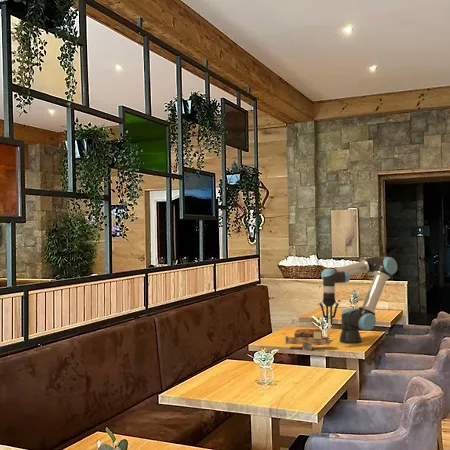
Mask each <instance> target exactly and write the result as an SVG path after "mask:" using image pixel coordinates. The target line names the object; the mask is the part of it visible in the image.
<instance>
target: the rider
mask: <svg viewBox="0 0 450 450" xmlns="http://www.w3.org/2000/svg"><path fill="white" fill-rule="evenodd" d="M322 338H323V335H322V336H321V332H314V339H322Z"/></svg>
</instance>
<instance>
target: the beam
mask: <svg viewBox="0 0 450 450" xmlns="http://www.w3.org/2000/svg"><path fill="white" fill-rule="evenodd" d="M329 341H330V340H329V336H326V337H322V339H314V338H304V337H293V336H291V337H290V336H288V335H287V336H285V344H286V345H302V351H309V352H312V350H313V349H312V348H313V346H312V345H313V344H318V345H328V346H329V343H330V342H329Z"/></svg>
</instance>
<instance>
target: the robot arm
mask: <svg viewBox="0 0 450 450" xmlns="http://www.w3.org/2000/svg"><path fill="white" fill-rule="evenodd" d="M397 270H398V263H397V261H396V259H394V258H393V257H391V256H373V257H368V258H366V259H362V260H360V261H359V262H355V263H351V264H348V265H344V266H339V267H336V268H324V269H323V270H322V271H321V274H320V277H321V279H322V281H323V282H322V287H323V288H322V290H323V293H322V294H323V295H322V296H323V298H322V301H321V302H319V306H320V308H321V312H322V316H323V318H325V319H326V320H325V322H326V324H327V329H329V330H330V329H331V326H332V325H331V324H333V319H334V318H336V314H337V310H338V307H339V305H340V304H339V302H337V301H336V293H335V292H336V290H335V289H336V286H335V285H336V284H341V283H344V284H345V283H348V282H350V280H351V276H354V275H359V274H362V273H364V274H368V273H373V274H374V276H373V279H372V281H371V284H370V285H369V289H368V290H367V293H366V296H365V298H364V301H363V304H362V306H359V307H357V308H354V307H353V308H344V309H342V310H341V332H340V335H339V342H340V343H344V344H360V343H362V337H361V333H360V330H362V331H371V330H372V329H373V328H375V325H376V323H377V320H376V319H377V318H376V312H375V310H376V307H377V305H378V302H379V301H380V298H381V295H382V292H383V290H384V288H385V284H386V282H387V281H388V280H389V279H391V276H392V275H394V274H396V272H398V271H397ZM334 305H335V307H334V311H333V306H334ZM324 306H325V308H326V309H325V310H324Z"/></svg>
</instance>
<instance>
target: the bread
mask: <svg viewBox="0 0 450 450" xmlns="http://www.w3.org/2000/svg"><path fill="white" fill-rule="evenodd" d="M314 332H321V336H322V337H323V330H322V329H320V328H299V329H296V330H295V331H294V334H293V336H294V337H304V338H314ZM314 345H316V346H317V345H319V344H314ZM314 345H313V346H314Z"/></svg>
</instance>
